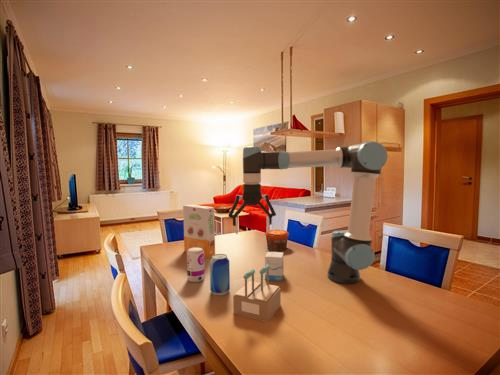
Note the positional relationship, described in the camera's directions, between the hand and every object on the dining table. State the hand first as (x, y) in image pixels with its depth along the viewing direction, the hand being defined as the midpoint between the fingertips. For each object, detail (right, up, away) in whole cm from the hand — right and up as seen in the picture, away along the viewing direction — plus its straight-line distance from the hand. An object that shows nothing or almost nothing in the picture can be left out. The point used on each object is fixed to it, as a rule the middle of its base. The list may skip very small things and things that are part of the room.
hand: (252, 232), depth 121 cm
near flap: (+5, -20, -15) cm, 25 cm away
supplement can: (-27, -26, +16) cm, 41 cm away
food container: (+17, -21, +68) cm, 73 cm away
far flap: (-2, -20, -12) cm, 23 cm away
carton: (+2, -27, -13) cm, 30 cm away
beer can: (-14, -27, +2) cm, 30 cm away
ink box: (+11, -25, +18) cm, 33 cm away
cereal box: (-33, -22, +58) cm, 70 cm away
